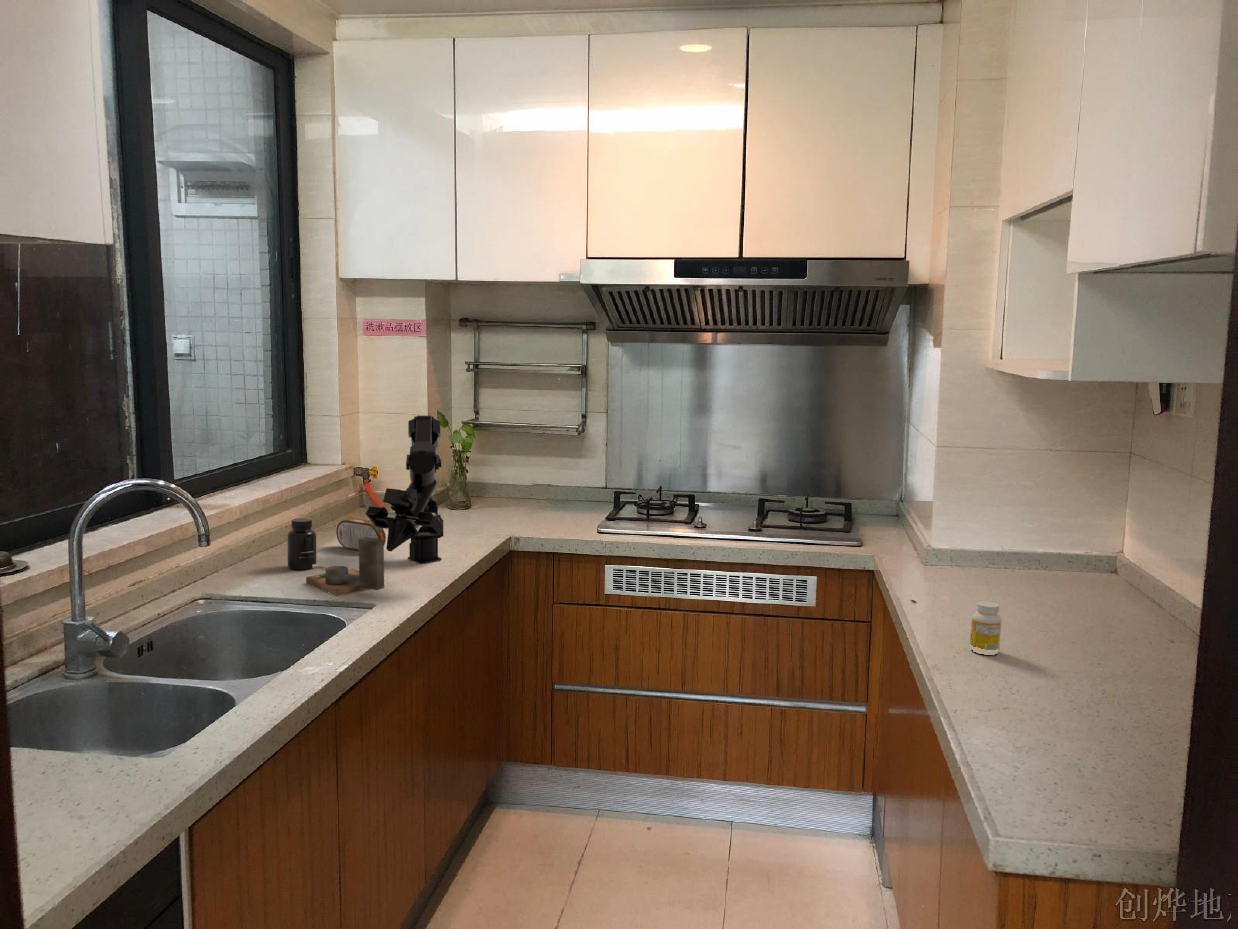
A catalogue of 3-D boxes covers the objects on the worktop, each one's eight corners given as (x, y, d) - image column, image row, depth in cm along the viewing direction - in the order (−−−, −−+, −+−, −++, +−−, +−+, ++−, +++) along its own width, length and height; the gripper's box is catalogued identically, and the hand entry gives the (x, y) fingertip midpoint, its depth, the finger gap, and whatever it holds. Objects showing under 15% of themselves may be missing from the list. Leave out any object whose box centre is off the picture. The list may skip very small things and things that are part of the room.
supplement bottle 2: (993, 658, 178) (997, 610, 177) (965, 651, 181) (969, 604, 180) (1002, 651, 182) (1006, 604, 181) (975, 645, 186) (978, 598, 184)
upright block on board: (305, 579, 214) (304, 532, 212) (321, 574, 218) (320, 528, 217) (373, 591, 206) (372, 543, 204) (387, 586, 210) (387, 538, 209)
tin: (386, 552, 249) (386, 521, 248) (379, 555, 246) (378, 523, 245) (342, 545, 255) (342, 515, 254) (334, 548, 252) (333, 517, 251)
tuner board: (352, 574, 226) (352, 566, 226) (383, 586, 216) (383, 577, 216) (306, 583, 218) (306, 574, 217) (335, 596, 208) (335, 587, 208)
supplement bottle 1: (307, 571, 228) (306, 523, 226) (282, 569, 229) (280, 521, 227) (322, 565, 234) (321, 518, 233) (297, 563, 236) (296, 516, 234)
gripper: (370, 471, 219) (338, 525, 211) (436, 478, 212) (406, 534, 203) (391, 499, 227) (362, 553, 219) (455, 506, 220) (428, 562, 211)
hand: (388, 550), depth 213 cm, fingers closed
